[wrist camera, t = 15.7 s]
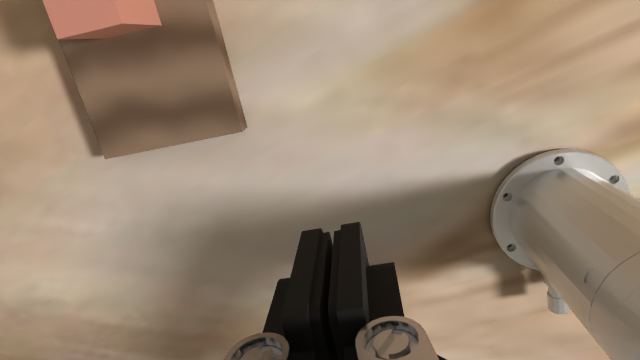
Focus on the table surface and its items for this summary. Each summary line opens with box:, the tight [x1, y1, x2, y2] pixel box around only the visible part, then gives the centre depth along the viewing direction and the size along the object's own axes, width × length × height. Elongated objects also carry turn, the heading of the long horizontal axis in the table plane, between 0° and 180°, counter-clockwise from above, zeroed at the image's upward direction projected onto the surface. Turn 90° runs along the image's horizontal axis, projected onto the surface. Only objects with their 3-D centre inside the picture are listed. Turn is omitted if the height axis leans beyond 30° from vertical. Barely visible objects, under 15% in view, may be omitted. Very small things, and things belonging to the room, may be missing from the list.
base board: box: [59, 0, 247, 159], centre depth 38 cm, size 18×14×2 cm
